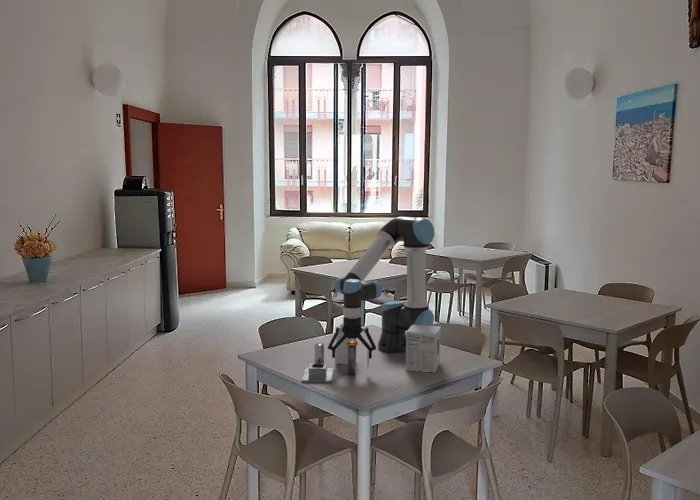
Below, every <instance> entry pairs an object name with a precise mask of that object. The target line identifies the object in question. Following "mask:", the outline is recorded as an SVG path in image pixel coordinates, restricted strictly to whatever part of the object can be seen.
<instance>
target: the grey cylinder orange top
mask: <svg viewBox="0 0 700 500" xmlns="http://www.w3.org/2000/svg"><path fill="white" fill-rule="evenodd" d="M347 345H348V365H347V375H348V376H356V374H357V346H358V341H357V340H356V341H347Z"/></svg>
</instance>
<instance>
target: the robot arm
mask: <svg viewBox="0 0 700 500" xmlns="http://www.w3.org/2000/svg"><path fill="white" fill-rule="evenodd" d="M434 238H435V228H434V225H433V223H432V222H431V220H429V219H428V218H425V217H419V216H417V217H416V216H405V215H403V216H397V217H394V218H392V219H390V220H389V221H388V222H386V223H385V224H384V225H383V226H382V227H380V229H379V230H378V231H377V233H376V238H375V239H374V240H373V242H372V243H371V244H369V246H368V248H367V249H366V250H365V251H364V253H363V254H362V255H361V256H360V257H359V259H358V260H357V261H356V262H355V264H354V265H353V266H352V268H351V269H350V270H349V271H348V273H346V275H345V276H339V277H338V278H337V279H336V280H335V282H334V289H335V291H336V292H337V293H338V294H341V295H343V306H342V307H343V309H342V312H343V314H342V315H343V317H342V318H343V320H342V321H343V322H342V323H343V328H340V326H336V328H335V332H334V334H333V337H332V338H331V341H330V342H329V343H328V346H327V349H328V350H331V354H332V355H331V358H332V359H334V367H337V366H338V364H337V349H336V348H337V347H338V346H339V345H340V344H341V343H342V342H343V341H344V340H345V339H346V337H347V338H348V339H351V338H353V339H356V340H357V339H358V340H359V341H360V342H361V343H362V344H363V345H364V347H365V348H366V349H367V351H366V358H367V359H366V367H367V368H368V367H370V359H372V357H373V356H372V354H373V351H376V350H377V349H378V350H379V351H381V352H382V351H383V352H385V353H405V352H406V332H407V330H408V329H409V328H410V327H411V326H412V325H425V326H434V321H435V315H434V312H433V311H432V310H431V309H430V304H429V303H428V302H427V301H426V289H427V288H426V287H427V286H426V285H427V284H426V275H427V274H426V273H427V272H426V267H427V266H426V265H427V263H426V261H427V257H426V256H427V253H426V251H427V249H429V248H430V244H431V243H432V242H433V240H434ZM399 242H403V248H404V249H405V250H406V301H405V300H394V301H393V300H392V301H386V302H383V304H382V306H381V307H382V308H381V334H380V336H379V340H378V342H377V346H376V344H375V342H374V339H373V338H372V336H371V334H370V331H369V327H364V328H363V327H362V302H363V301H368V300H375V299H377V298H379V297H381V296H382V294H383V286H382V284H381V282H379V281H378V280H371V281H366V280H365V279H366V278H367V277H368V275H369V274H370V273H371V272H372V271H373V269H374V268H375V267H376V265H377V264H378V263H379V262H380V260H381V259H382V258H383V257H384V256H385V254H386V253H387V251H388V250H389V249H390V248H393V247H394V246H395V245H396V244H397V243H399ZM341 331H342V332H343V333H344V335H343V336H342V337H341V338H340V340H339V341H338V342H337V343H336V337H337V335H338V333H340V332H341ZM362 332H363V333H364V334H365V335H366V337H367V340H368V341H369V343H370V344H369V343H368V342H367V341H366V340H365V338H364V337H363V336H362V335H361V334H362ZM334 343H335V344H334Z"/></svg>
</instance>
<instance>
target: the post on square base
mask: <svg viewBox="0 0 700 500" xmlns="http://www.w3.org/2000/svg"><path fill="white" fill-rule="evenodd" d="M333 375H334V367H331V368H330V367H328V363H327V362H326V363H325V343H321V342H319V343H318V342H317V343H314V362H310V363H309V367H305V370H304V372H303V376H302V378H301V383H307V384H308V383H311V384H312V383H314V384H317V383H318V384H332V381H333Z"/></svg>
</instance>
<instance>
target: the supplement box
mask: <svg viewBox="0 0 700 500" xmlns="http://www.w3.org/2000/svg"><path fill="white" fill-rule="evenodd" d="M441 329H442V328H441V326H437V325H436V326H435V325H432V326H425V325H412V326H411V327H410V328H409V329H408V330H407V331H406V351H405V371H408V372H409V371H410V372H419V371H421V373H428V372H433V373H432V374H435V373H436V372H437V370H438V368H439V367H438V366H440V365H439V364H440V362H441V360H440V359H441V357H440V356H441Z"/></svg>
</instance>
